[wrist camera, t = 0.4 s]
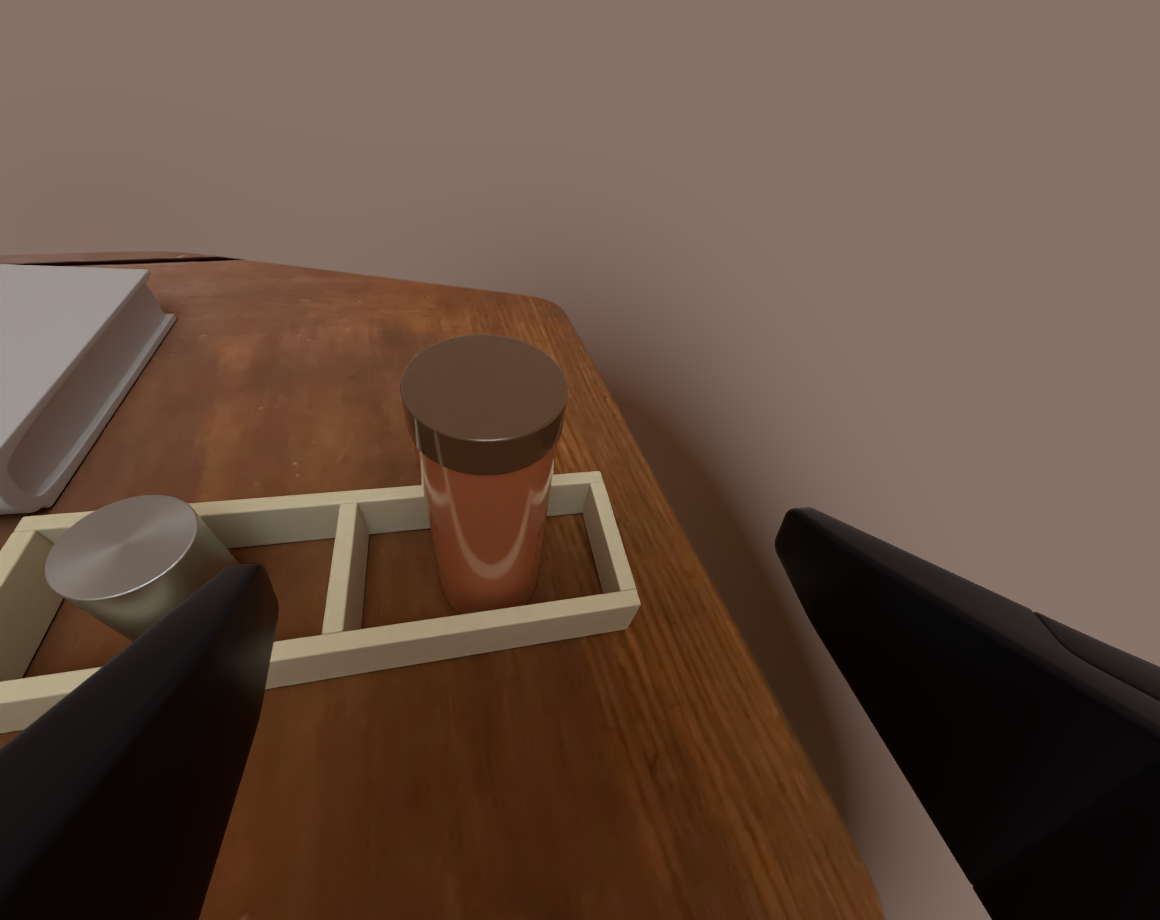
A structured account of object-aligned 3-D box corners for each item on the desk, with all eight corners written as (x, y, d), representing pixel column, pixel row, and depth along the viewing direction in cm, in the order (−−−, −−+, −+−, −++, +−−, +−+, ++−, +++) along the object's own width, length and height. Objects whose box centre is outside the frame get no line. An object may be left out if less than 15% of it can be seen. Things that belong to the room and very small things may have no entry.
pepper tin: (245, 651, 20) (176, 590, 16) (125, 669, 19) (14, 609, 15) (266, 562, 23) (212, 489, 19) (162, 573, 22) (78, 499, 18)
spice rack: (592, 501, 28) (600, 470, 26) (627, 629, 23) (641, 604, 21) (69, 551, 22) (22, 515, 20) (-34, 740, 17) (-113, 720, 15)
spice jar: (547, 614, 23) (583, 435, 14) (439, 630, 22) (396, 446, 12) (532, 527, 27) (553, 333, 17) (437, 537, 25) (402, 333, 16)
